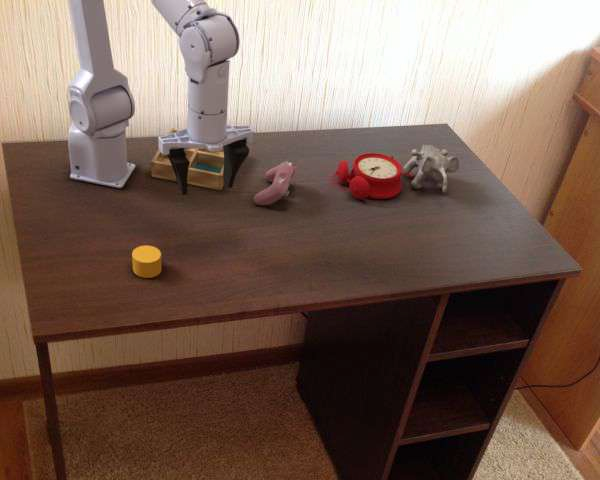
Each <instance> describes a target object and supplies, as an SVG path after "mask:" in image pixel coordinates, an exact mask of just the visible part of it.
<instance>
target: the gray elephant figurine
mask: <svg viewBox="0 0 600 480" xmlns="http://www.w3.org/2000/svg"><path fill="white" fill-rule="evenodd" d="M448 154H449V151H448V150H447V149H445V148H442V149H441V150H440V149H439V148H437V147H436V146H434V145H433V144H429V145H428V144H422V146H421V148H420V150H419V151H418V149H416V148H413V149H412V150H411V151H410V155H411V157H410V159H409V160H408V161H407V162H406V164H405V165H404V166H403V167H402V174H407V175H410V173H412V171H413V170H414V169H415V168H417V169H418V171H417V173H416V175H415V177H414V178H413V179H412V180H411V182H410V186H411V187H412V188H414V189H417V190H418V189H422V185H423V183H424V182H425V180H426V179H427V178H428V177H430V178H431V179H432V180H434V181H436V185H435V186H436V188H437V189H441V191H442V193H443V194H446V192H447V190H448V173H456V172H457V171H458V170H459V169H460V161H459V159H458V157H456V156H447V155H448Z"/></svg>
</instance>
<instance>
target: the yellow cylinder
mask: <svg viewBox="0 0 600 480" xmlns="http://www.w3.org/2000/svg"><path fill="white" fill-rule="evenodd" d="M131 252H132V253H131V260H132V261H131V262H132V271H133V273H134V274H135V275H137V277H139V278H144V279H152V278H155V277H158V276H159V275H160V274H161V273H162V252H161V250H160V249H159V248H158V247H156V246H153V245H147V244H146V245H139V246H136V248H134V249H133V250H132V251H131Z"/></svg>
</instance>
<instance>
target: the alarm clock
mask: <svg viewBox="0 0 600 480" xmlns="http://www.w3.org/2000/svg"><path fill="white" fill-rule="evenodd" d="M335 176H337V180H338V182H339V183H340V184H341V185H346V184H348V187H342V186H341V185H338V184H337V183H336V182H335V181H334V179H333V177H335ZM402 176H403V177H411V178H413V177H414V174H408V175H407V174H403V167H402V165H401V164H400V162H399V161H397V160H396V159H395V158H394V155H391V156H388V155H386V154H381V153H377V152H369V153H363V154H360V155H358V156H357V157H355V159H354V161H353V163H352V169H351V171H350V172H349V164H348V161H347V160H341V161H340V162H339V164H338V165H337V170H335V171H334V174H332V175H331V176H330V181H331V182H332V184H333V185H334V186H336V187H337V188H339V189H341V190H345V191H347V190H349V192H350V194H351V196H352V197H354V198H355V199H357V200H360V201H362V200H365V199H367V198H370V199H377V200H385V199H392V198H394V197H396V196H398V195H399V194H400V193H401V191H402V188H403V184H402V180H401V178H402Z"/></svg>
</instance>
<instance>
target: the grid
mask: <svg viewBox="0 0 600 480" xmlns="http://www.w3.org/2000/svg"><path fill="white" fill-rule="evenodd" d="M180 130H181V129H179V128H174V127H171V129H170V130H169V132H168V133H167V135H169V134H172V133H175V132H177V131H180ZM184 152H185V153H186V157H187V159H188V160H189V162H190V164H189V168H188V175H187V185H192V186H198V187H203V188H208V189H212V190H217V191H222V190H223V188H224V186H225V185H226V184H225V183H224V181H223V170H224V149H222V150H221V151H215V152H211V151H209V150H208V149H198V148H194V149H187V150H184ZM150 168H151V169H150V171H151V177H153V178H158V179H162V180H167V181H173V182H177V179H176V176H175V173H174V170H173V167H172V165H171V162H170V160H169V158H168V156H167V155H163V154H162V153H161V152H160V150H159V149H157V151H156V153H155V155H154V156H153V158H152V160H151V161H150Z"/></svg>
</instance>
